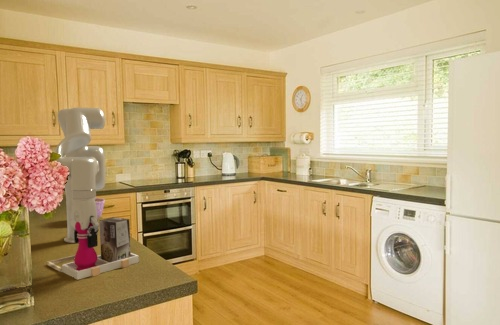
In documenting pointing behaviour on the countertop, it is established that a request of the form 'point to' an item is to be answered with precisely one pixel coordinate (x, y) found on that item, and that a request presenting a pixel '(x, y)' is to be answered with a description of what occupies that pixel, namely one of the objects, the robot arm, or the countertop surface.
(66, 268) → the frame
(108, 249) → the coffee box
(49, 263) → the tray frame
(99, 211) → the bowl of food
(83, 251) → the pepper mill
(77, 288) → the countertop surface
